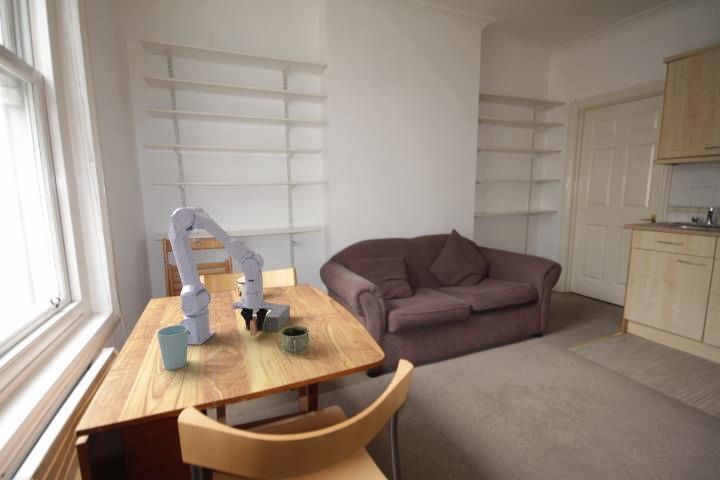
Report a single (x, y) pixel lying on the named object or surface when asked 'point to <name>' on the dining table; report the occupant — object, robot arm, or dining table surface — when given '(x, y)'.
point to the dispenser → (275, 318)
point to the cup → (173, 346)
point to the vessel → (294, 339)
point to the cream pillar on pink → (256, 324)
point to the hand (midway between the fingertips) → (255, 329)
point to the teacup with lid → (241, 288)
